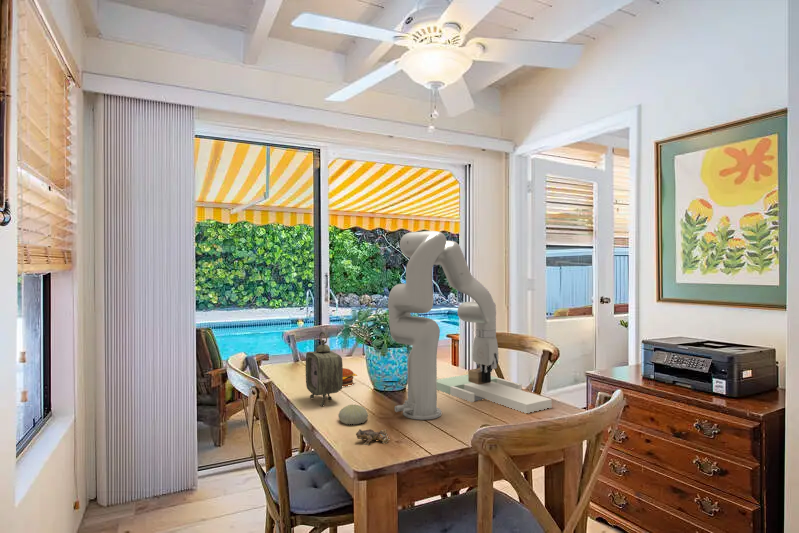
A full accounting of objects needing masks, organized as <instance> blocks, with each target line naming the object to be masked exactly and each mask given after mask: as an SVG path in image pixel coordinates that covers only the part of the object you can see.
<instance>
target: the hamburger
mask: <svg viewBox="0 0 799 533" xmlns="http://www.w3.org/2000/svg"><path fill="white" fill-rule="evenodd" d="M356 376H358V375H357V374H356V373H354V371H353V370H351V369H349V368H345V367H343V385H342V386H348V385H352V384H353V385H354V377H356ZM353 385H352V386H353Z"/></svg>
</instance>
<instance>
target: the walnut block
mask: <svg viewBox="0 0 799 533" xmlns="http://www.w3.org/2000/svg"><path fill="white" fill-rule="evenodd" d="M467 371H468V372H467V373H468V374H467V375H468V381H469V382H472V383H475V384H478V385H479V384H485V383H484V382H482V372H481V371H480V367H479V368H471V369H468V370H467ZM488 383H490V382H488Z"/></svg>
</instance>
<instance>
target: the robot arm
mask: <svg viewBox="0 0 799 533" xmlns="http://www.w3.org/2000/svg"><path fill="white" fill-rule="evenodd" d="M399 247H400V251H401V253H402V254H403V255H404V256H405V257H408V258H409V260H408V262H407V264H406V269H405V283H398V284H396V285H394V286H393V287H392V288H391V290H390V292H389V294H388V298H387V302H388V303H387V305H388V322H389V331H390V333H389V334H390V337H391V338H392V339H393V341H395V342H396V343H397V344H401V345H408V346H412V347H411V350H410V351H409V353H408V357H407V364H406V365H407V400H404V403H403V404H399V405H398V404H397V405H395V406H394V411H395V413H398V412H402V415H403V416H404V417H405V418H408V419H412V420H419V421H420V420H421V421H425V420H427V421H428V420H434V419H437V418H440V417H441V416H442V414H443V413H442V411H443V410H442V409H440V408H439V407H438V398H437V397H438V395H437V394H438V390H437V379H438V378H437V377H438V376H437V375H438V374H437V371H438V370H437V358H438V357H437V356H438V346H439V342H440V333H441V330H440V329H441V328H440V326H439V325H438V323H437V322H436V321H435V320H434V319H432V318H429V317H423V316H422V317H421V316H411V315H412V314H411V313H413V314H427V313H429V312H430V311H432V309H433V307H434V306H433V305H434V289H433V288H434V287H433V268H434V265H435V266H436V265H437V266H439V265H440V266H441V268H442V270H443V272H444V275H445V277H446V279H447V283H448V284H449V286H450V287H451V288H453V290H456V291H458V292H460V293H462V294H464V295H466V296H469V297H470V298H471V299H473V301H465V302H462V303H461V304H460V305H459V306H458V307H457V316H458V318H459V319H460V320H461V321H463V322H467V323H475V336H474V339H473V345H472V361H473V362H474V363H475V365H477V366H478V367H479V368H480V371H481V372H482V382H484V383H488V382H491V376H492V375H491V374H492V372H493V370H494V369H498V364H499V345H498V339H497V307H496V302H494V300H493V299H494V298H493V297H492V295H491V293H490V291H489V290H488V289H487V288H486V286H484V284H482V283H481V282H480V281H479V280H477V278H475V277H474V276H473V275H472V272H471V271H470V268H469V265H468V263H467V261H466V258H465V255H464V253H463V251H462V250H463V249H462V248H461V245H459V243H458V242H456V241H454V240H447V237H446V235H445V234H444V233H443V232H441V231H438V230H437V231H436V230H423V231H411V232H406V233H405V234H404V235H402V237H401V238H400V240H399Z"/></svg>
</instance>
